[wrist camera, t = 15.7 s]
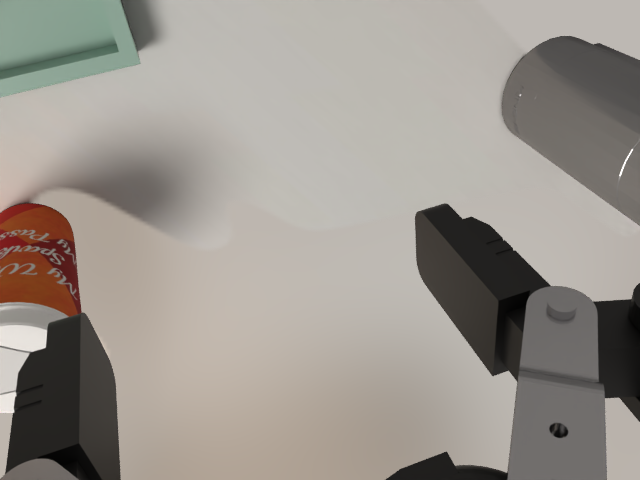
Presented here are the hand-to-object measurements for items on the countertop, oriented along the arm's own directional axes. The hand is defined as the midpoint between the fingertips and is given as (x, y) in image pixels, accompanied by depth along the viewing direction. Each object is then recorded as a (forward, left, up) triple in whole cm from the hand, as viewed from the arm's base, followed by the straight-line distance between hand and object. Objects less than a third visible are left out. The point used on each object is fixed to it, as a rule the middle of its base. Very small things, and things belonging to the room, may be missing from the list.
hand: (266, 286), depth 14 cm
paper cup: (+13, +14, -30) cm, 36 cm away
